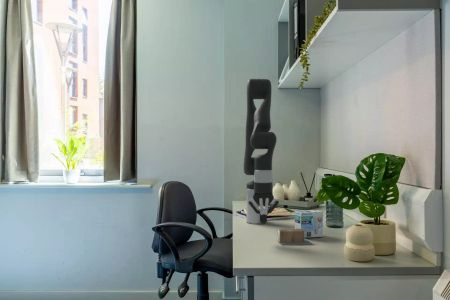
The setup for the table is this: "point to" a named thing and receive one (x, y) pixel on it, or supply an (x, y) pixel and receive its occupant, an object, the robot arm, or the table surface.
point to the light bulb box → (309, 222)
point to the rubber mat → (298, 243)
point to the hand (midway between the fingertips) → (263, 223)
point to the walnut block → (290, 235)
